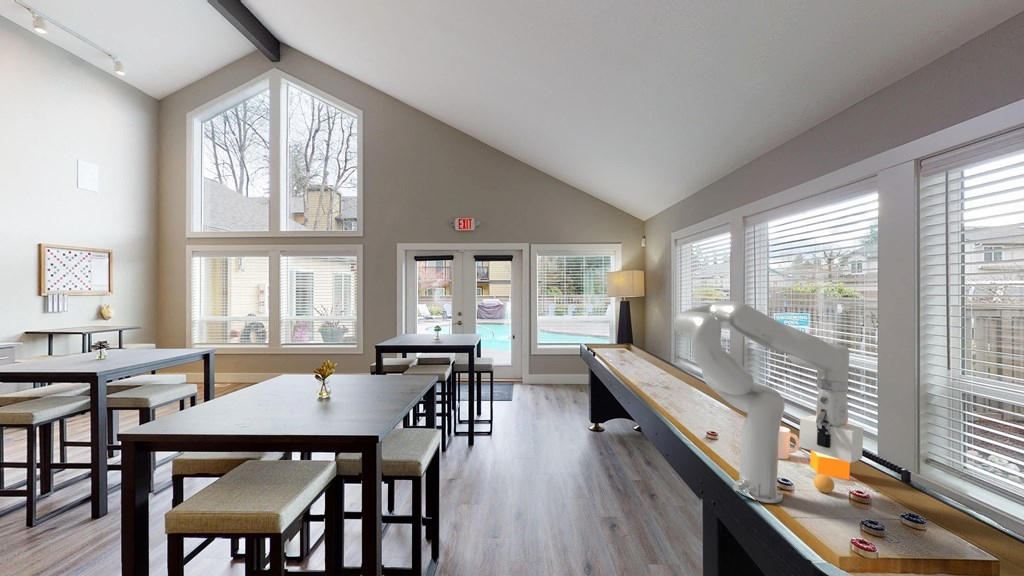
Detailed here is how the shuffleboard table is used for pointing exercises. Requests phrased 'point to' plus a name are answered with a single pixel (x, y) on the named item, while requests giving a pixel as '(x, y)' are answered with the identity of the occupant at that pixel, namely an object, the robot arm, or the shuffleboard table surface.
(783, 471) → the shuffleboard table surface
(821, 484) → the ball
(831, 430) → the frosted white brick
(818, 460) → the orange juice
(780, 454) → the mug
